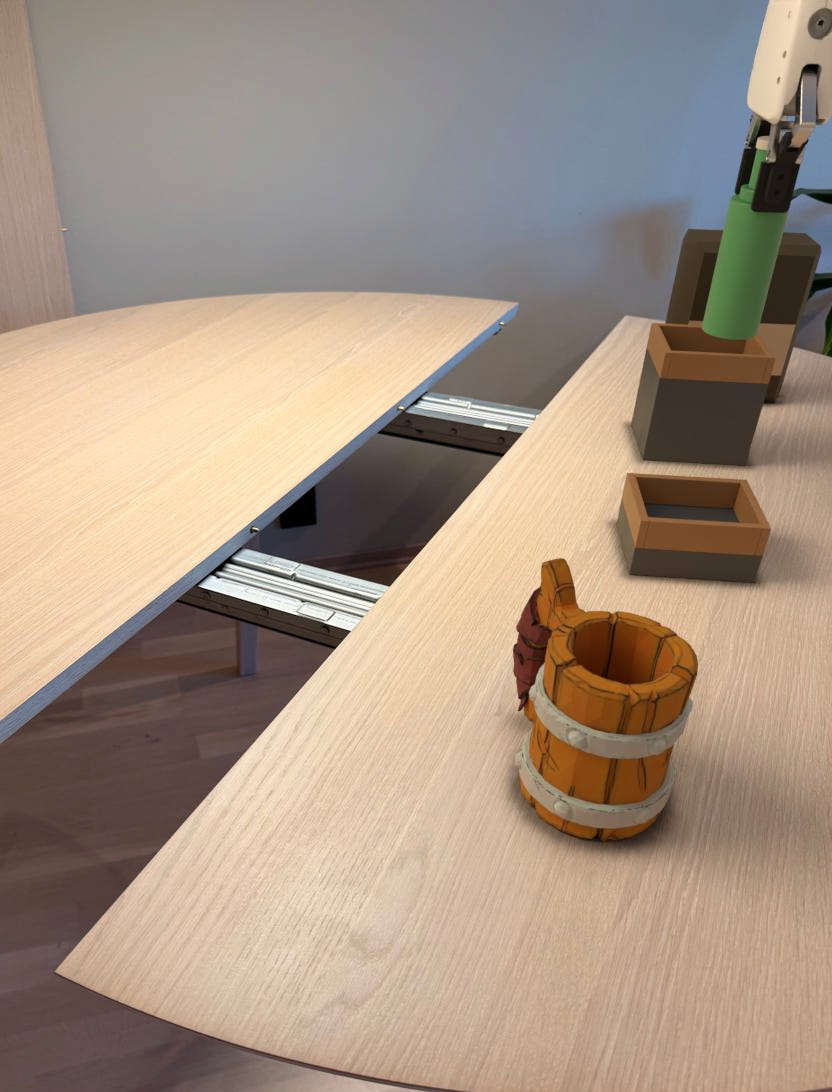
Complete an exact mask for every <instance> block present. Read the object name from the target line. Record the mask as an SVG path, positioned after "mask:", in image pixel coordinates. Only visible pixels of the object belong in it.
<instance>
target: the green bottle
mask: <svg viewBox="0 0 832 1092" xmlns="http://www.w3.org/2000/svg"><path fill="white" fill-rule="evenodd" d="M781 139H782V136H781V137H780V139H779V143H780V141H781ZM768 143H769V136H761V137H759V138H758V139H757V144H756V148H757V151H756V156H755V160H754V164H753V169H752V173H751V177H750V182H749V184H745V185H742V187H741V190H740V194H737V195H736V194H733V195H731V197H730V199H729V203H728V207H727V211H726V217H725V221H724V225H723V229H722V230H723V234H722V239H721V243H720V248H719V252H718V257H717V261H716V266H715V270H714V275H713V279H712V284H711V288H710V293H709V297H708V302H707V306H706V311H705V315H704V319H703V324H702V330H703V331H704V332H706V333H707V334H709V335H712V336H715V337H719V338H724V339H731V340H744V339H750V338H753V337H755V336H756V335H757V332H758V328H759V324H760V321H761V317H762V313H763V309H764V305H765V301H766V297H767V293H768V290H769V286H770V282H771V278H772V274H773V270H774V266H775V262H776V259H777V255H778V251H779V247H780V243H781V239H782V235H783V232H785V227H786V223H787V219H788V216H789V211H790V208H791V206H790V207H789V210H788V211H787V212H785V213H766V212H754V211H752V210H751V203H752V198H753V194H754V190H755V186H756V181H757V177H758V173H759V169H760V164H761V161H762V162H766V156H767V150H768ZM791 204H792V202H791V203H790V205H791Z"/></svg>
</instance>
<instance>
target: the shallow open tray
mask: <svg viewBox="0 0 832 1092" xmlns="http://www.w3.org/2000/svg"><path fill="white" fill-rule="evenodd" d="M616 528H617V532H618V535H619V539H620V544H621V547H622V552H623V555H624V559H625V563H626V567H627V571H628V575H632V576H633V575H634V576H647V577H648V576H650V577H666V578H678V579H679V578H680V579H695V580H710V581H725V582H726V581H727V582H738V583H739V582H741V583H756V579H757V576H758V573H759V569H760V567H761V563H762V561H763V557H764V553H765V550H766V547H767V544H768V541H769V539H770V535H771V532H772V527H771V525H770V523H769V522H768V519H767V517H766V516H765V514H764V511H763V509H762V507H761V505H760V504H759V501H758V500H757V497H756V496H755V494H754V491H753V490H752V487H751V485H750V483H749V481H748V480H747V479H738V478H725V477H724V478H722V477H721V478H720V477H708V476H707V477H704V476H688V475H671V474H653V473H640V472H639V473H634V472H626V475H625V480H624V486H623V491H622V495H621V499H620V505H619V509H618V515H617V519H616Z"/></svg>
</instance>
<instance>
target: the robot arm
mask: <svg viewBox="0 0 832 1092" xmlns="http://www.w3.org/2000/svg"><path fill="white" fill-rule="evenodd" d="M746 103H747V106H748V108H749V109H750V110H751V111H752V115H750V118H749V123H750V124H749V126H748V130H747V134H746V137H745V140H744V147H743V151H742V155H741V158H740V159H741V160H740V164H739V168H738V174H737V177H736V182H735V186H734V190H733V191H734V195H737V194H740V190H741V187H742V185H745V184H749V182H750V177H751V173H752V169H753V164H754V160H755V156H756V151H757V148H756V144H757V139H758V138H759V137H761V136H769V143H768V150H767V156H766V162H762V161H761V164H760V169H759V173H758V177H757V181H756V186H755V190H754V194H753V198H752V203H751V210H752V211H754V212H766V213H785V212H787V211H788V210H789V211H790V208H791V204H792V200H793V195H794V192H795V188H796V183H797V180H798V176H799V172H800V168H801V165H802V162H803V160H804V157H805V149H806V146H807V145H808V143H809V138H810V136H812V134H813V132H814V131H815V129H816V126H824V125H826V124H827V123H828V122H829V121H830V120H831V118H832V0H769V2H768V5H767V6H766V12H765V16H764V19H763V24H762V28H761V31H760V35H759V39H758V44H757V47H756V52H755V56H754V60H753V64H752V68H751V73H750V78H749V84H748V89H747V96H746ZM789 117H794V120H788V118H789ZM783 133H784V134H783ZM780 137H782V139H781V141H780V143H779V139H780ZM790 203H791V204H790ZM789 207H790V208H789Z"/></svg>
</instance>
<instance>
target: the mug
mask: <svg viewBox="0 0 832 1092" xmlns="http://www.w3.org/2000/svg"><path fill="white" fill-rule="evenodd" d="M515 628H516V632H517V633H518V636H517V638H516V643H515V644H513V648H512V658H513V668H512V669H513V670H512V672H513V676H514V677H515V684H516V692H517V698H518V700H520V702H519V705H518V708H517V712H521V711H522V710H523V714H524V716H525V717H526V719H527V720H528V721H529V722H531V723H532V726H531V727H530V728H529V729H528V731H527V732H526V735H525V736H524V739H523V741H522V743H521V747H520V751H518V752H516V753H515V757H514V766H516V768H518V773H519V774H518V783H519V787H520V793H521V794H522V796H523V797H524V799H525V801H526V802H527V804H529V805H530V806H531V807H534V809H535V812H536V815H537V816H538V817H539V818H540V819H542V820H543V822H545V823H546V824H548V825H549V826H551V827H553V828H554V829H556V830H557V831H559V832H562V833H564V834H567V835H570V836H573V837H576V838H579V839H586V840H593V839H594V838H595V837H596V836H597V837H598V840H599V841H604V842H606V841H608V840H609V839H610V840H612V841H621V840H625V839H630V838H632V837H634V836H636V835H638V834H639V833H642V832H644V831H646V830H647V829H648V828H649V827H650V826H652V824H654V823H655V822H656V821H657V820H658V817H659V816H661V812H662V810H663V809H664V807H665V806H666V804H667V803H668V800H669V798H670V796H671V791H672V787H673V782H674V780H675V779H676V777H677V772H678V770H677V766H676V765H675V764H674V762H673V758H672V757H671V756H672V753H673V750H674V746H675V743H676V742H677V741H678V740H679V739H680V738H681V737H682V736H683V735H684V731H685V728H686V725H687V722H688V719H689V716H690V713H691V712H692V711H693V706H694V704H693V703H694V701H693V700H692V699H691V698H690V697H691V693H692V691H693V688H694V685H695V683H696V679H697V677H698V673H699V661H698V656H697V654H696V652H695V650H694V648H693V647H692V645H691V644H690V643H689V642H687V640H686V639H684V638H682V637H681V636H680V635H678V634H677V633H676V632H675V631H674V630H673V629H671V628H670V627H667V626H663V625H662V624H661V622H658V621H656V620H653V619H652V618H649V617H646V616H643V615H639V614H636V613H632V612H628V611H618V610H617V611H615V612H613V613H612V612H611V611H608V610H607V611H606V610H605V611H604V610H588V611H585V610H584V609H582V608H580V606H579V604H578V602H577V596H576V588H575V584H574V579H573V576H572V572H571V569H570V566H569V564H568V562H567V560H566V558H563V557H559V558H553V559H549V560H546V561H543V562H541V567H540V586H539V587H537V588H536V589H535V590H533V592H532V594H531V595H530V597H529V599H528V600H527V602H526V604H525V606H524V608H523V610H522V612H521V614H520V618H519V620H518V622H517V624H516V626H515Z"/></svg>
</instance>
